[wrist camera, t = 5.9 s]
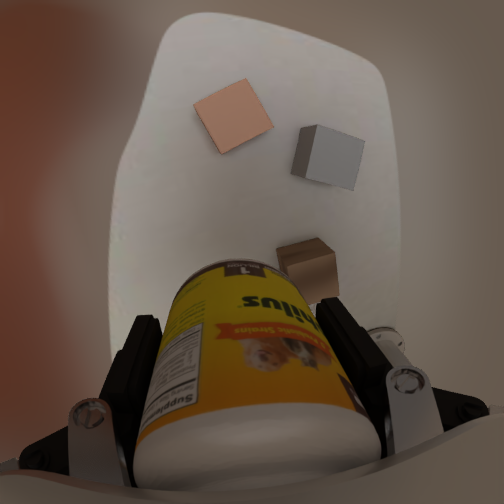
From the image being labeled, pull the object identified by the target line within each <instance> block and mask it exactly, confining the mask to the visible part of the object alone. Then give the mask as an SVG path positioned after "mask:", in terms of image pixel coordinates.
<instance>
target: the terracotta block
mask: <svg viewBox="0 0 504 504" xmlns="http://www.w3.org/2000/svg"><path fill="white" fill-rule="evenodd" d="M193 106H194V108H195V110H196V112H197V114H198V116H199V117H200V119H201V121H202V122H203V124H204V126H205V128H206V129H207V131H208V133H209V135H210V136H211V138H212V140H213V142H214V143H215V145H216V147H217V148H218V150H219V152H220V154H223V153H225V152H227V151H229V150H231V149H232V148H234V147H236V146H238V145H240V144H242V143H244V142H246V141H248V140H249V139H251V138H253V137H255V136H257V135H259V134H261V133H263V132H265V131H267V130H269V129H271V128H273V127H274V126H273V124H272V123H271V121H270V119H269V117H268V115H267V113H266V112H265V110H264V108H263V106H262V104H261V103H260V101H259V99H258V97H257V96H256V94H255V92H254V91H253V89H252V87H251V85H250V84H249V82H248V80H247V79H246V78H245V79H243V80H241V81H239V82H237V83H234V84H232V85H230V86H228V87H226V88H224V89H222V90H220V91H218V92H216V93H214V94H212V95H210V96H208V97H207V98H205V99H203V100H201V101H199V102H197V103H195V104H194V105H193Z"/></svg>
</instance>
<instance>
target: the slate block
mask: <svg viewBox="0 0 504 504" xmlns="http://www.w3.org/2000/svg"><path fill="white" fill-rule="evenodd" d="M364 144H365V141H364V140H361V139H359V138H356V137H353V136H350V135H347V134H344V133H342V132H339V131H336V130H333V129H329V128H326V127H323V126H320V125H313V126H308V127H304V128H301V131H300V135H299V140H298V144H297V148H296V153H295V157H294V162H293V166H292V170H291V173H292V174H295V175H298V176H301V177H304V178H307V179H311V180H315V181H319V182H323V183H327V184H330V185H334V186H338V187H341V188H345V189H348V190H352V191H353V190H354V186H355V183H356V178H357V174H358V170H359V166H360V162H361V157H362V153H363V148H364Z"/></svg>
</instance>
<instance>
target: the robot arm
mask: <svg viewBox="0 0 504 504" xmlns="http://www.w3.org/2000/svg"><path fill="white" fill-rule="evenodd" d="M315 319H316V320H317V322H318V324H319V326H320V328H321V329H322V331H323V333H324V335H325V337H326V338H327V340H328V342H329V344H330V346H331V347H332V349H333V351H334V353H335V355H336V357H337V359H338V360H339V362H340V364H341V366H342V368H343V370H344V371H345V373H346V375H347V377H348V379H349V380H350V382H351V384H352V386H353V388H354V390H355V392H356V393H357V395H358V397H359V399H360V401H361V403H362V405H363V407H364V409H365V410H366V412H367V414H368V416H369V417H370V419H371V422H372V424H373V426H374V428H375V430H376V432H377V434H378V437H379V440H380V443H381V458H380V460H378V461H375V462H372V463H369V464H366V465H363V466H360V467H357V468H354V469H350V470H347V471H343V472H340V473H336V474H332V475H328V476H324V477H320V478H316V479H311V480H306V481H301V482H296V483H291V484H285V485H278V486H271V487H264V488H255V489H245V490H232V491H206V492H188V491H164V490H151V489H141V488H138V487H137V484H136V482H135V478H134V474H133V462H134V454H135V448H136V444H137V438H138V433H139V429H140V425H141V420H142V415H143V411H144V407H145V402H146V398H147V394H148V390H149V386H150V382H151V378H152V374H153V370H154V366H155V362H156V358H157V355H158V351H159V347H160V344H161V340H162V336H163V335H162V331H161V327H160V323H159V320H158V318H154V317H153V315H138V316H137V317H136V319H135V321H134V323H133V325H132V328H131V330H130V332H129V335H128V337H127V339H126V342H125V344H124V346H123V349H122V350H119V351H118V352H117V354H116V356H115V358H114V361H113V363H112V365H111V368H110V370H109V373H108V375H107V378H106V380H105V383H104V385H103V388H102V390H101V393H100V395H99V398H87V399H84V400H81V401H79V402H78V403H76V404H75V405H74V406H73V407H72V408H71V410H70V412H69V417H68V426H66V427H64V428H62V429H60V430H58V431H57V432H55V433H53V434H51V435H49V436H47V437H45V438H43V439H41V440H39V441H37V442H35V443H33V444H31V445H29V446H27V447H26V448H25V449H24V450H23V451H22V453H21V455H20V457H19V460H17V459H16V458H12V459H10V460H8V461H5V462H2V463H0V504H504V407H502V406H495V405H490V406H489V408H487V406H486V405H485V403H484V402H483V401H481V400H480V399H478V398H475V397H472V396H467V395H463V394H458V393H454V392H449V391H446V390H442V389H437V388H433V387H431V384H430V381H429V378H428V377H427V375H426V374H425V373H424V372H423V371H422V370H420V369H419V368H417V367H413V365H412V364H411V363H410V362H409V361H408V359H407V358H406V357H405V356H404V354H403V353H404V349H405V347H404V346H405V344H404V340H403V338H402V336H401V335H400V334H399V333H398V332H397V331H395V330H393V329H390V328H380V329H375V330H372V331H369V332H367V331H366V330H365V329H364V328H363V327H360V326H359V325H358V323H357V322H356V321H355V319H354V318H353V317H352V316H351V314H350V313H349V312H348V310H347V309H346V308H345V306H344V305H343V304H342V303H341V301H340V300H339V299H338V298H337V297H331V298H324V299H322V300H321V303H317V305H316V318H315Z"/></svg>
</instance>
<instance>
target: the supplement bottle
mask: <svg viewBox="0 0 504 504" xmlns="http://www.w3.org/2000/svg"><path fill="white" fill-rule="evenodd" d="M380 458H381V443H380V440H379V437H378V434H377V432H376V430H375V428H374V426H373V424H372V422H371V419H370V417H369V416H368V414H367V412H366V410H365V409H364V407H363V405H362V403H361V401H360V399H359V397H358V395H357V393H356V392H355V390H354V388H353V386H352V384H351V382H350V380H349V379H348V377H347V375H346V373H345V371H344V370H343V368H342V366H341V364H340V362H339V360H338V359H337V357H336V355H335V353H334V351H333V349H332V347H331V346H330V344H329V342H328V340H327V338H326V337H325V335H324V333H323V331H322V329H321V328H320V326H319V324H318V322H317V320H316V319H315V317H314V315H313V314H312V312H311V310H310V308H309V306H308V304H307V303H306V301H305V299H304V298H303V296H302V294H301V293H300V291H299V289H298V288H297V287H296V285H295V284H294V283H293V282H292V280H291V279H290V278H289V277H288V276H287V275H285V274H284V273H283V272H281V271H280V270H278V269H277V268H275V267H273V266H271V265H269V264H266V263H263V262H260V261H256V260H251V259H227V260H222V261H218V262H215V263H212V264H210V265H208V266H205V267H203V268H202V269H200V270H198V271H197V272H195V273H194V274H193V275H192V276H190V277H189V278H188V279H187V280H186V281H185V282H184V284H183V285H182V286H181V288H180V289H179V291H178V292H177V294H176V296H175V298H174V300H173V303H172V306H171V309H170V312H169V316H168V319H167V323H166V326H165V330H164V333H163V336H162V340H161V344H160V347H159V351H158V355H157V358H156V362H155V366H154V370H153V374H152V378H151V382H150V386H149V390H148V394H147V398H146V402H145V407H144V411H143V415H142V420H141V425H140V429H139V433H138V438H137V444H136V448H135V454H134V462H133V474H134V478H135V482H136V484H137V487H138V488H141V489H151V490H164V491H188V492H206V491H232V490H245V489H255V488H264V487H271V486H278V485H285V484H291V483H296V482H301V481H306V480H311V479H316V478H320V477H324V476H328V475H332V474H336V473H340V472H343V471H347V470H350V469H354V468H357V467H360V466H363V465H366V464H369V463H372V462H375V461H378V460H380Z"/></svg>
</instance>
